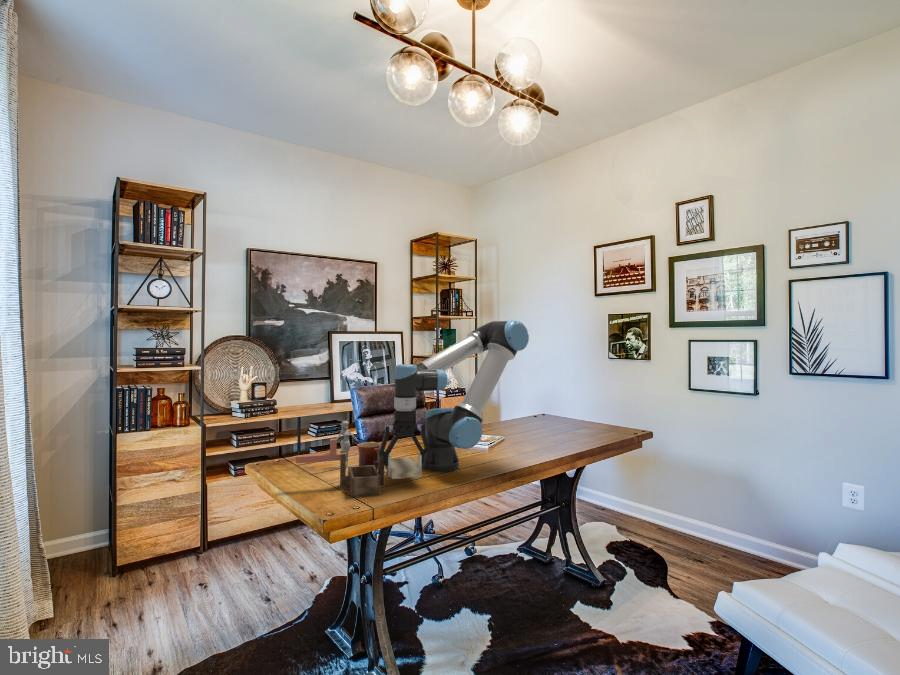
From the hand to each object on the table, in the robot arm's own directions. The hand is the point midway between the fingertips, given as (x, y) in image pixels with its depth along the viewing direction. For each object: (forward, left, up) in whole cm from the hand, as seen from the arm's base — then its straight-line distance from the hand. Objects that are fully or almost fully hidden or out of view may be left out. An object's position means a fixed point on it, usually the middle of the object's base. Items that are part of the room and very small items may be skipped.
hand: (404, 474), depth 160 cm
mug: (+9, -18, -4) cm, 21 cm away
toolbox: (+14, +1, -4) cm, 14 cm away
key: (+28, -4, +5) cm, 28 cm away
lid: (0, -4, 0) cm, 4 cm away
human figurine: (+18, -28, -4) cm, 34 cm away
